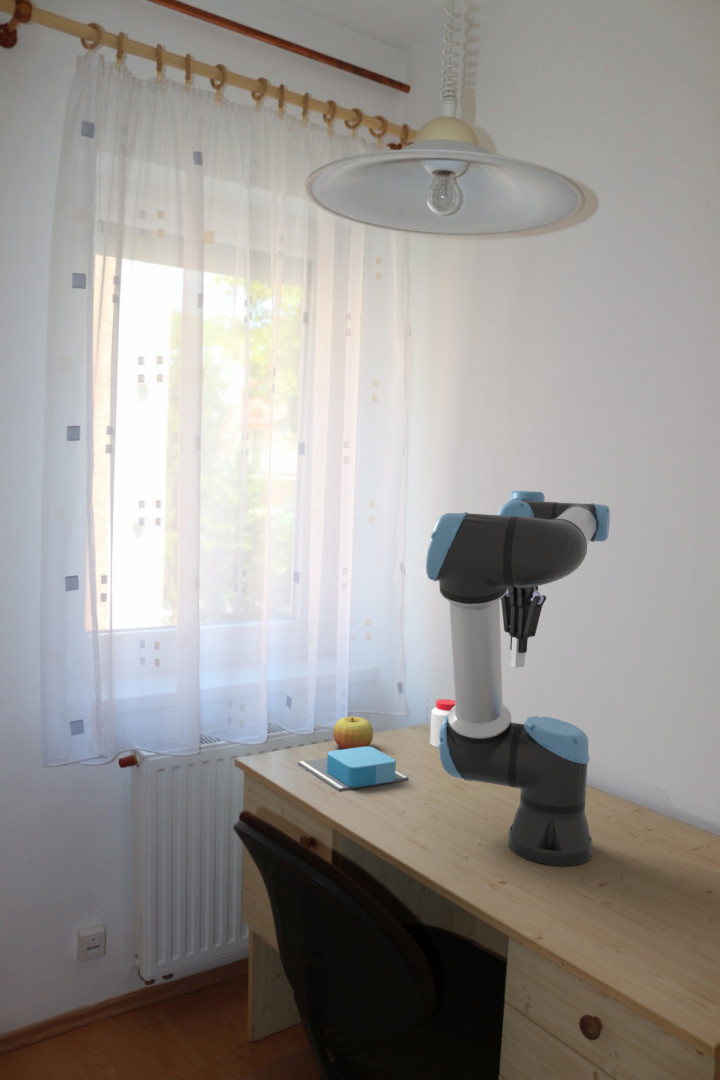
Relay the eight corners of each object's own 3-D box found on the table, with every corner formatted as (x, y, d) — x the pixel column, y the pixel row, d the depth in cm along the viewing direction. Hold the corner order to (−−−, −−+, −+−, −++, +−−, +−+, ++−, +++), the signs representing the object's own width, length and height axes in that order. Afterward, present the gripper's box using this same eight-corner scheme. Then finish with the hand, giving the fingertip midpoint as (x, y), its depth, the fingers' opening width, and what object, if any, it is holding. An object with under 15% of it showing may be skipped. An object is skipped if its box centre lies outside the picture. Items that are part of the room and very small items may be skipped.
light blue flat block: (397, 781, 190) (369, 764, 200) (398, 760, 189) (370, 745, 200) (350, 788, 183) (324, 771, 194) (351, 767, 183) (324, 751, 193)
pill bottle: (428, 747, 218) (430, 704, 217) (430, 738, 225) (433, 696, 224) (459, 750, 216) (461, 706, 216) (460, 741, 224) (462, 699, 223)
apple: (331, 753, 208) (333, 721, 208) (332, 741, 218) (334, 710, 218) (372, 755, 209) (374, 723, 208) (371, 743, 218) (373, 712, 218)
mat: (408, 779, 192) (408, 776, 192) (338, 791, 183) (338, 788, 183) (363, 754, 209) (364, 752, 209) (297, 764, 199) (297, 761, 199)
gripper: (557, 563, 187) (550, 671, 188) (516, 557, 198) (510, 659, 199) (531, 564, 183) (525, 674, 184) (491, 558, 194) (485, 661, 195)
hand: (517, 666), depth 192 cm, fingers closed
